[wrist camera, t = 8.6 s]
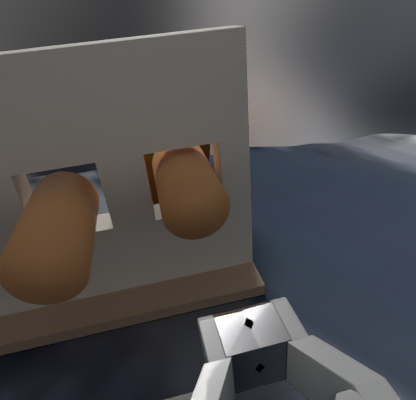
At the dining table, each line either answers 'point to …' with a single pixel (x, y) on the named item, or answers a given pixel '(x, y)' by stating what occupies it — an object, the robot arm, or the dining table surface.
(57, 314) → the panel
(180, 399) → the card
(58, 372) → the dining table surface
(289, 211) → the dining table surface
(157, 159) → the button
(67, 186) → the button middle
